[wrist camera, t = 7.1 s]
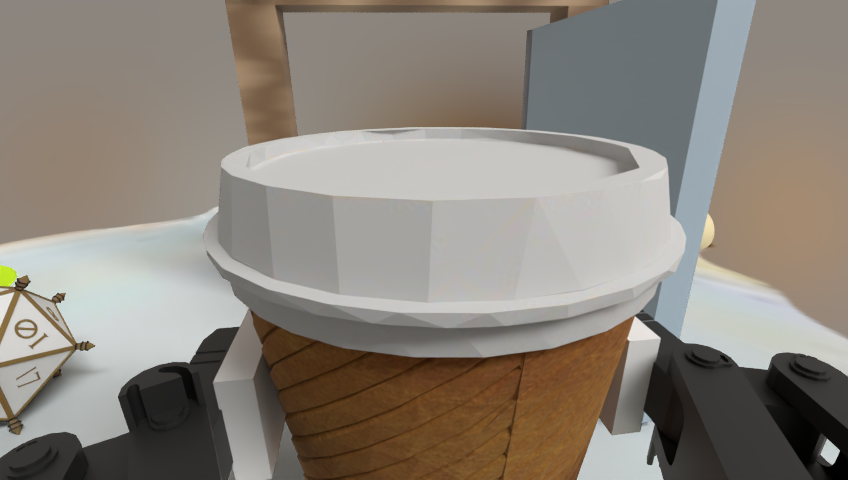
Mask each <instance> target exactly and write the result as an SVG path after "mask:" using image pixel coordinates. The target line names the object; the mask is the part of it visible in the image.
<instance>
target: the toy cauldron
mask: <svg viewBox="0 0 848 480" xmlns="http://www.w3.org/2000/svg"><path fill="white" fill-rule="evenodd" d="M16 277H17V275H16V271H14V270H13V269H12V268H10V267H6V266H0V286H9V285H11V284H12V283H13V282H14V280H15V279H16Z"/></svg>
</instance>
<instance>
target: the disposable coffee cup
mask: <svg viewBox="0 0 848 480" xmlns="http://www.w3.org/2000/svg"><path fill="white" fill-rule="evenodd" d="M203 238H204V242H205V247H206V251H207V255H208V257H209V258H210V260H211V261H212V263H213V264H214V266H215V267H216V268H217V270H218V271H219V273H220V274H221V276H222V277H223V278H224V279H226V280H228V281H230V283H231V286H232V289H233V292H234V295H235V296H236V297H237V298H238V299H239V300H241V301H242V302H243V303H244V304H245V305H246V306H247V307H249V309H250V312H251V315H252V317H253V325H254V328H255V330H256V332H257V335H258V337H259V340H260V342H261V344H262V345H263V347H262V349H261V350H262V352H263V354H264V357H265V359H266V361H267V364H268V366H269V368H272V370H271V372H270V376H271V378H272V381H273V383H274V385H275V388H276V390H277V391H280V392H279V394H278V400H279V402H280V404H281V407H282V409H283V411H284V413H286V416H285V421H286V423H287V425H288V428H289V430H290V432H291V434H292V435H293V436H292V442H293V444H294V446H295V449H296V451H297V453H298V459H299V461H300V464H301V466H302V469H303V471H304V477H305V480H577V477H578V474H579V471H580V468H581V465H582V462H583V459H584V457H585V454H586V451H587V448H588V445H589V443H590V440H591V437H592V435H593V432H594V429H595V426H596V423H597V420H598V417H599V415H600V412H601V410H602V407H603V404H604V401H605V398H606V395H607V393H608V390H609V387H610V385H611V382H612V379H613V376H614V373H615V370H616V368H617V366H618V363H619V360H620V357H621V354H622V351H623V348H624V345H625V343H626V340H627V338H628V335H629V332H630V329H631V326H632V323H633V320H634V318H635V315H636V314H637V313H639V312H640V311H641V310H642V309H643V308H644V306H645V305H646V304H647V303H648V302H649V301H650V300H651V299H652V298H653V296H654V295H655V292H656V289H657V286H658V283H660V282H661V281H663V280H664V279H666V278H667V277H669V276H670V275H672V274H673V273H675V272H676V270H677V267H678V265H679V263H680V261H681V258H682V256H683V254H684V251H685V244H686V235H685V233H684V231H683V228H682V226H681V224H680V223H679V222H678V221H677V220H676V219H675V218H674V217H672V216H671V215H670V197H669V176H668V165H667V160H666V158H665V157H663V156H662V155H660V154H658V153H657V152H655V151H653V150H650V149H647V148H644V147H642V146H638V145H634V144H629V143H625V142H620V141H615V140H610V139H605V138H600V137H593V136H584V135H576V134H567V133H557V132H547V131H536V130H517V129H516V130H515V129H499V128H459V127H458V128H457V127H456V128H455V127H448V128H447V127H426V128H425V127H422V128H420V127H417V128H416V127H415V128H413V127H412V128H389V129H367V130H353V131H340V132H331V133H321V134H313V135H305V136H298V137H290V138H282V139H278V140H273V141H268V142H263V143H259V144H255V145H251V146H247V147H244V148H242V149H240V150H238V151H235V152H233V153H231V154H229V155H227V156H226V157H225V158H224V159H223V160H222V162H221V179H220V195H219V211H218V212H217V213H216V215H215V216H214V217H213V218H212V219H211V220H210V221H209V222H208V224H207V227H206V229H205V231H204V233H203Z"/></svg>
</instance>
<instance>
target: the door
mask: <svg viewBox="0 0 848 480" xmlns="http://www.w3.org/2000/svg"><path fill="white" fill-rule="evenodd" d="M755 2H756V0H622V1H619V2H616V3H612V4H609V5H606V6H603V7H600V8H597V9H594V10H590V11H587V12H584V13H581V14H578V15H575V16H572V17H569V18H566V19H563V20H560V21H556V22H553V23H550V24H548V25H544V26H541V27H538V28H535V29H533V30H528V31H527V42H526V43H527V44H526V60H525V76H524V92H523V110H522V126H521V130H536V131H547V132H557V133H567V134H576V135H584V136H593V137H600V138H605V139H610V140H615V141H620V142H625V143H629V144H634V145H638V146H642V147H644V148H647V149H650V150H653V151H655V152H657V153H658V154H660V155H662V156H663V157H665V158H666V160H667V165H668V176H669V197H670V215H671V216H672V217H674V218H675V219H676V220H677V221H678V222H679V223H680V224H681V226H682V228H683V231H684V233H685V235H686V244H685V251H684V254H683V256H682V258H681V261H680V263H679V265H678V267H677V270H676V272H675V273H673V274H672V275H670V276H669V277H667V278H666V279H664V280H663V281H661V282H660V283H658V286H657V289H656V292H655V295H654V296H653V298H652V299H651V300H650V301H649V302H648V303H647V304H646V305H645V306H644V308H643V309H642V310H644V311H645V313H647V314H649V315H650V316H651V317H652V318H654V321H657V322H659V323H660V324H661V325H662V326H664V327H665V328H666V329H667V330H669V331H670V332H671V333H672V334H673V335H675V336H676V337H677V338H678V339H679V338H680V334H681V329H682V325H683V320H684V316H685V312H686V307H687V303H688V298H689V294H690V290H691V285H692V281H693V276H694V272H695V267H696V263H697V259H698V254H699V250H700V249H704V248H706V247H708V246H709V245H710V243H711V242H712V240H713V237H714V224H713V221H712V219H711V217H710V216H709V214H708V210H709V205H710V201H711V197H712V192H713V188H714V183H715V179H716V175H717V170H718V166H719V161H720V157H721V152H722V148H723V144H724V139H725V135H726V130H727V126H728V122H729V117H730V113H731V108H732V104H733V99H734V95H735V90H736V86H737V82H738V77H739V73H740V68H741V64H742V60H743V55H744V51H745V46H746V42H747V38H748V33H749V28H750V24H751V20H752V15H753V11H754V7H755ZM651 421H652V420H651V419H650V418H649V416H648V415H647V414H646V413H645V412H644V416H643V421H642V423H644V422H651Z"/></svg>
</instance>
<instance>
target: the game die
mask: <svg viewBox="0 0 848 480" xmlns="http://www.w3.org/2000/svg"><path fill="white" fill-rule="evenodd" d="M30 282H31V281H29V279H28V276H27V275H26V276H24V277H21V278H17V282H15V285H16V287H8V286H0V421H8V422H9V426H8V427H9V428H10V430H9V432H10V431H12V432H14V433H16V434H18V435H19V434H20V431H21V428H22V426H23V425H22V424H21V422H22V421H19V420H18V419H17V416H18V415H19V414H20V413H21V412H22V411H23V410H24V408H25V407H26V406H27V405H28V404H29V403H30V402H31V400H32V399H33V398H34V397H35V396H36V395H37V394H38V392H39V391H40V390H41V389H42V388H43V387H44V386H45V385H46V383H47V382H48V381H49V380H50V379H51V378H52V377H53V378H55V377H57V376H59V375H62V374H61V369H60V367H61V366H62V365H63V364H64V363H65V362H66V361H67V360H68V358H69V357H70V356H71V355H72V354H73V353H74V352H75V350H76V349H79V350H81V351H83V350H86V351H88V350H89V349H91V348H93V347H95V345H93V344H91V343H89V341H87V342H84V341H82V343H79V344H78V343H76V341H75V340H74V338H73V336H72V334H71V332H70V330H69V328H68V326H67V325H66V323H65V321H64V319H63V317H62V315H61V313H60V311H59V310H58V308H57V306H56V303H61V301H62V300H64V297H65V294H66V293H61V294H59V293H57V294H56V296H54V297H53V298H52V300H50V299H47V298H45V297H42V296H40V295H37V294H34V293H32V292H29V291H27V290H24V288H26V287H27V286H28V284H29V283H30Z"/></svg>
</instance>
